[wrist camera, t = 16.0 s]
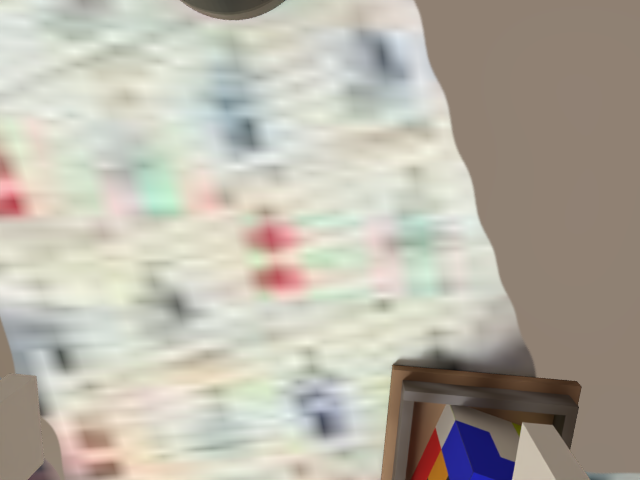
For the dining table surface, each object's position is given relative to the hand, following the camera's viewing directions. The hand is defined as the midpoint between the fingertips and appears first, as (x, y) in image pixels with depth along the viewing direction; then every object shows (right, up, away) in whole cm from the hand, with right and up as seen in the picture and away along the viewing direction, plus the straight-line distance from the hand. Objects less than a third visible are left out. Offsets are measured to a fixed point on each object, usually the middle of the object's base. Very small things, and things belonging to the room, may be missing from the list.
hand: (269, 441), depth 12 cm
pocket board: (+17, -17, +35) cm, 42 cm away
